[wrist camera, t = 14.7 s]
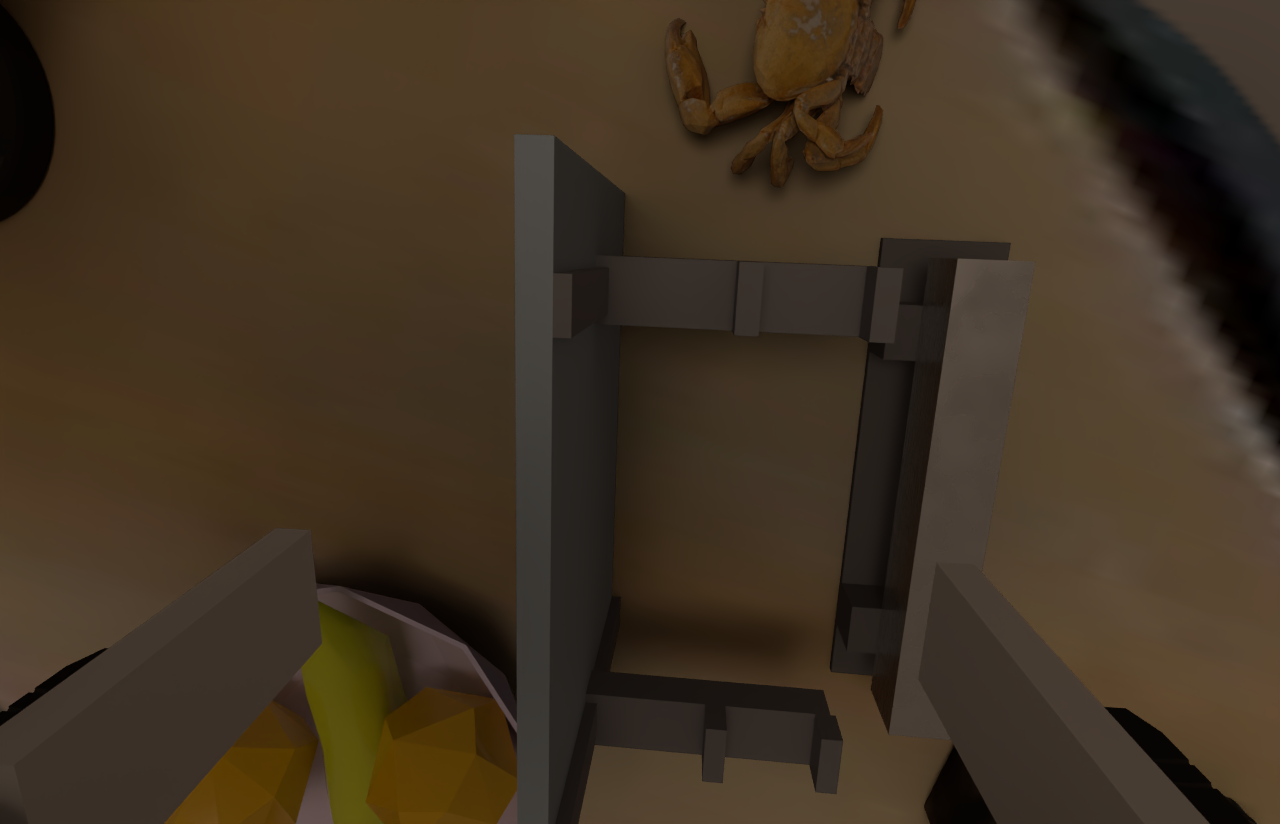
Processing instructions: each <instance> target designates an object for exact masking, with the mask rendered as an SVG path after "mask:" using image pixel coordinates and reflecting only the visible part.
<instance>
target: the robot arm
mask: <svg viewBox="0 0 1280 824" xmlns="http://www.w3.org/2000/svg"><path fill="white" fill-rule="evenodd" d="M51 143H52V111H51V103H50V98H49V93H48V89H47V85H46V81H45V78H44V75H43V72H42V69H41V67H40V64H39V62H38V60H37V57H36V55H35V53H34V51H33V49H32V47H31V45H30V44H29V42H28V40H27V39H26V37H25V35H24V34H23V32H22V31H21V29H20V28H19V26H18V25H17V24H16V22H15V21H14V20H13V19H12V17H11V16H10V15H9V14H8V13H7V12H6V10H5V9H4V8H3V7H2V6H1V5H0V220H2V219H5V218H6V217H8V216H10V215H11V214H13V213H14V212H15V211H17V210H18V209H19V208H20V207H21V206H22V205H23V204H24V203H25V202H26V201H27V200H28V199H29V198H30V197H31V195H32V194H33V193H34V191H35V190H36V188H37V186H38V185H39V183H40V181H41V179H42V177H43V174H44V172H45V169H46V166H47V163H48V159H49V155H50V150H51ZM321 644H322V636H321V627H320V617H319V607H318V597H317V587H316V577H315V568H314V558H313V548H312V538H311V530H303V529H284V528H275V529H274V530H272V531H271V532H270V533H268V534H267V535H265V536H264V537H263V538H261V539H260V540H259V541H257V542H256V543H254V544H253V545H252V546H250V547H249V548H247V549H246V550H245V551H243V552H242V553H240V554H239V555H238V556H236V557H235V558H234V559H232V560H231V561H229V562H228V563H227V564H225V565H224V566H222V567H221V568H220V569H218V570H217V571H215V572H214V573H213V574H211V575H210V576H208V577H207V578H206V579H204V580H203V581H202V582H200V583H199V584H197V585H196V586H195V587H193V588H192V589H190V590H189V591H188V592H186V593H185V594H183V595H182V596H181V597H179V598H178V599H177V600H175V601H174V602H172V603H171V604H170V605H168V606H167V607H165V608H164V609H163V610H161V611H160V612H158V613H157V614H156V615H154V616H153V617H152V618H150V619H149V620H147V621H146V622H145V623H143V624H142V625H140V626H139V627H138V628H136V629H135V630H133V631H132V632H131V633H129V634H128V635H126V636H125V637H124V638H122V639H121V640H120V641H118V642H117V643H115V644H114V645H113V646H111V647H110V648H104V649H102V650H100V651H98V652H96V653H94V654H91V655H89V656H87V657H85V658H83V659H81V660H79V661H76V662H74V663H72V664H70V665H68V666H66V667H65V668H63V669H62V670H60V671H59V672H57V673H56V674H55V675H53V676H52V677H50V678H49V679H47V680H46V681H44V682H43V683H42V684H40V685H39V686H37V687H36V688H35V691H34V692H33V693H27V694H26V695H24V696H23V697H22V698H20V699H19V700H17V701H16V702H14V703H13V704H12V705H10V706H9V709H8V710H7V711H2V712H0V824H164V823H165V822H166V821H167V819H168V818H169V817H170V816H171V815H172V814H173V813H174V811H175V810H176V809H177V808H178V807H179V806H180V805H181V804H182V802H183V801H184V800H185V799H186V798H187V797H188V796H189V794H190V793H191V792H192V791H193V790H194V789H195V788H196V786H197V785H198V784H199V783H200V782H201V781H202V780H203V779H204V777H205V776H206V775H207V774H208V773H209V772H210V771H211V769H212V768H213V767H214V766H215V765H216V764H217V763H218V761H219V760H220V759H221V758H222V757H223V756H224V755H225V753H226V752H227V751H228V750H229V749H230V748H231V747H232V746H233V744H234V743H235V742H236V741H237V740H238V739H239V738H240V736H241V735H242V734H243V733H244V732H245V731H246V730H247V728H248V727H249V726H250V725H251V724H252V723H253V722H254V721H255V719H256V718H257V717H258V716H259V715H260V714H261V713H262V711H263V710H264V709H265V708H266V707H267V706H268V705H269V703H270V702H271V701H272V700H273V699H274V698H275V697H276V696H277V694H278V693H279V692H280V691H281V690H282V689H283V688H284V686H285V685H286V684H287V683H288V682H289V681H290V680H291V678H292V677H293V676H294V675H295V674H296V673H297V672H298V670H299V669H300V668H301V667H302V666H303V665H304V664H305V663H306V661H307V660H308V659H309V658H310V657H311V656H312V655H313V653H314V652H315V651H316V650H317V649H318V648H319V647H320V645H321ZM918 680H919V681H920V683H921V685H922V687H923V689H924V691H925V693H926V694H927V696H928V698H929V700H930V702H931V704H932V705H933V707H934V709H935V711H936V713H937V715H938V716H939V718H940V720H941V722H942V724H943V726H944V727H945V729H946V731H947V733H948V735H949V737H950V739H951V740H952V742H953V744H954V746H955V748H956V750H957V751H958V753H959V755H960V757H961V759H962V761H963V762H964V764H965V766H966V768H967V770H968V772H969V773H970V775H971V777H972V779H973V781H974V783H975V785H976V786H977V788H978V790H979V792H980V794H981V796H982V797H983V799H984V801H985V803H986V805H987V807H988V808H989V810H990V812H991V814H992V816H993V818H994V819H995V821H996V823H997V824H1251V823H1250V822H1249V821H1248V820H1247V819H1246V818H1245V817H1244V816H1243V815H1242V814H1241V813H1240V812H1239V811H1238V810H1237V809H1236V808H1235V807H1234V806H1233V805H1232V804H1231V803H1230V802H1229V801H1228V800H1227V799H1226V797H1225V796H1224V795H1223V794H1222V793H1221V792H1220V791H1219V790H1218V789H1213V788H1212V786H1211V782H1210V781H1209V780H1208V779H1207V778H1206V777H1205V776H1204V775H1203V774H1202V773H1201V772H1200V771H1199V770H1198V769H1197V768H1196V767H1195V766H1194V765H1190V764H1189V760H1188V759H1187V758H1186V757H1185V756H1184V755H1183V754H1182V752H1181V751H1180V750H1179V749H1178V748H1177V747H1176V746H1175V745H1174V744H1173V743H1172V742H1171V741H1170V740H1169V739H1168V738H1167V737H1166V736H1165V735H1164V734H1163V733H1162V732H1161V731H1159V730H1157V729H1156V728H1154V727H1153V726H1151V725H1150V724H1148V723H1147V722H1145V721H1144V720H1142V719H1141V718H1139V717H1138V716H1136V715H1135V714H1133V713H1132V712H1130V711H1129V710H1127V709H1126V708H1112V707H1103V705H1102V704H1101V703H1100V702H1099V701H1098V700H1097V699H1096V698H1095V697H1094V695H1093V694H1092V693H1091V692H1090V691H1089V690H1088V689H1087V688H1086V687H1085V686H1084V684H1083V683H1082V682H1081V681H1080V680H1079V679H1078V678H1077V677H1076V676H1075V675H1074V673H1073V672H1072V671H1071V670H1070V669H1069V668H1068V667H1067V666H1066V665H1065V664H1064V662H1063V661H1062V660H1061V659H1060V658H1059V657H1058V656H1057V655H1056V654H1055V653H1054V651H1053V650H1052V649H1051V648H1050V647H1049V646H1048V645H1047V644H1046V643H1045V641H1044V640H1043V639H1042V638H1041V637H1040V636H1039V635H1038V634H1037V633H1036V632H1035V630H1034V629H1033V628H1032V627H1031V626H1030V625H1029V624H1028V623H1027V622H1026V621H1025V619H1024V618H1023V617H1022V616H1021V615H1020V614H1019V613H1018V612H1017V611H1016V610H1015V608H1014V607H1013V606H1012V605H1011V604H1010V603H1009V602H1008V601H1007V600H1006V598H1005V597H1004V596H1003V595H1002V594H1001V593H1000V592H999V591H998V590H997V589H996V587H995V586H994V585H993V584H992V583H991V582H990V581H989V580H988V579H987V578H986V576H985V575H984V574H983V573H982V572H981V571H980V570H979V569H978V568H977V567H976V565H975V564H959V563H940V562H936V567H935V574H934V580H933V587H932V593H931V600H930V606H929V613H928V619H927V626H926V632H925V639H924V645H923V652H922V658H921V665H920V671H919V678H918Z"/></svg>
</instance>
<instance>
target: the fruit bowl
mask: <svg viewBox="0 0 1280 824" xmlns="http://www.w3.org/2000/svg"><path fill="white" fill-rule="evenodd" d="M316 587H317V597H318V607H319V617H320V627H321V636H322V644H321V645H320V647H319V648H318V649H317V650H316V651H315V652H314V653H313V655H312V656H311V657H310V658H309V659H308V660H307V661H306V663H305V664H304V665H303V666H302V667H301V668H300V669H299V670H298V672H297V673H296V674H295V675H294V676H293V677H292V678H291V680H290V681H289V682H288V683H287V684H286V685H285V686H284V688H283V689H282V690H281V691H280V692H279V693H278V694H277V696H276V697H275V698H274V699H273V700H272V701H271V702H270V703H269V705H268V706H267V707H266V708H265V709H264V710H263V711H262V713H261V714H260V715H259V716H258V717H257V718H256V719H255V721H254V722H253V723H252V724H251V725H250V726H249V727H248V728H247V730H246V731H245V732H244V733H243V734H242V735H241V736H240V738H239V739H238V740H237V741H236V742H235V743H234V744H233V746H232V747H231V748H230V749H229V750H228V751H227V752H226V753H225V755H224V756H223V757H222V758H221V759H220V760H219V761H218V763H217V764H216V765H215V766H214V767H213V768H212V769H211V771H210V772H209V773H208V774H207V775H206V776H205V777H204V779H203V780H202V781H201V782H200V783H199V784H198V785H197V786H196V788H195V789H194V790H193V791H192V792H191V793H190V794H189V796H188V797H187V798H186V799H185V800H184V801H183V802H182V804H181V805H180V806H179V807H178V808H177V809H176V810H175V811H174V813H173V814H172V815H171V816H170V817H169V818H168V819H167V821H166V822H165V823H164V824H517V704H516V701H515V699H514V696H513V694H512V691H511V689H510V686H509V684H508V681H507V679H506V676H505V674H503V673H502V672H501V671H500V670H499V669H497V668H496V667H495V666H494V665H493V664H491V663H490V662H489V661H488V660H487V659H485V658H484V657H483V656H482V655H481V654H479V653H478V652H477V651H476V650H474V649H473V648H472V647H471V646H470V645H468V644H467V643H466V642H465V641H464V640H462V639H461V638H460V637H459V636H458V635H456V634H455V633H454V632H453V631H452V630H450V629H449V628H448V627H447V626H446V625H444V624H443V623H442V622H441V621H439V620H438V619H437V618H436V617H435V616H433V615H432V614H431V613H430V612H429V611H427V610H426V609H425V608H424V607H423V606H421V605H420V604H418V603H414V602H409V601H405V600H400V599H396V598H392V597H387V596H383V595H378V594H374V593H369V592H365V591H360V590H356V589H351V588H347V587H342V586H335V585H326V584H317V583H316Z"/></svg>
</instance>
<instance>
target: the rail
mask: <svg viewBox="0 0 1280 824" xmlns="http://www.w3.org/2000/svg"><path fill="white" fill-rule="evenodd" d="M1034 266H1035V262H1033V261H1008V260H982V259H956V258H929V264H928V272H927V279H926V287H925V294H924V301H923V309H922V316H921V323H920V331H919V338H918V345H917V353H916V360H915V368H914V375H913V382H912V390H911V397H910V404H909V412H908V419H907V426H906V434H905V441H904V449H903V456H902V463H901V471H900V478H899V485H898V493H897V500H896V508H895V515H894V522H893V530H892V537H891V544H890V552H889V559H888V566H887V574H886V581H885V589H884V596H883V603H882V611H881V618H880V625H879V633H878V640H877V647H876V655H875V662H874V670H873V677H872V684H871V691H872V694H873V696H874V699H875V701H876V704H877V706H878V709H879V712H880V714H881V717H882V719H883V722H884V724H885V727H886V729H887V732H888V734H889V735H899V736H910V737H921V738H933V739H944V740H951V739H950V737H949V735H948V733H947V731H946V729H945V727H944V726H943V724H942V722H941V720H940V718H939V716H938V715H937V713H936V711H935V709H934V707H933V705H932V704H931V702H930V700H929V698H928V696H927V694H926V693H925V691H924V689H923V687H922V685H921V683H920V681H919V680H918V678H919V671H920V665H921V658H922V652H923V645H924V639H925V632H926V626H927V619H928V613H929V606H930V600H931V593H932V587H933V580H934V574H935V567H936V562H940V563H959V564H975V565H976V567H977V568H978V569H979V570H980V571H981V572H982V569H983V563H984V557H985V551H986V546H987V540H988V534H989V528H990V522H991V516H992V511H993V505H994V499H995V493H996V487H997V482H998V476H999V470H1000V464H1001V458H1002V452H1003V447H1004V441H1005V435H1006V429H1007V423H1008V418H1009V412H1010V406H1011V400H1012V394H1013V388H1014V383H1015V377H1016V371H1017V365H1018V359H1019V354H1020V348H1021V342H1022V336H1023V330H1024V325H1025V319H1026V313H1027V307H1028V301H1029V295H1030V290H1031V284H1032V278H1033V272H1034Z"/></svg>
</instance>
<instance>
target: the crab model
mask: <svg viewBox="0 0 1280 824" xmlns="http://www.w3.org/2000/svg"><path fill="white" fill-rule="evenodd" d="M763 1H764V2H765V3H766V7H765V8H762V9H758V10H759V11H760V12H761V13H762V17H761V18H759V19H758V21H757V23H756V28H757V33H756V39H755V43H754V48H753V66H754V72H755V76H756V79H757V83H742V84H737V85H734V86H731V87H728V88H725V89H723V90H721V91H720V92H718V93H717V97H716V99H715V100H714V101H713V102H712V104H711V105H710V92H709V85H708V80H707V74H706V71H705V68H704V65H703V63H702V60H701V57H700V54H699V52H698V50H697V40H696V38H695V36H694V34H693V33H692V31H691V30H690V31H688V32H687V33H685V34H684V33H683V34H682V38H681V36H680V29H681V26H683V25H684V24H685V23H686V22H685V21H683V20H682V19H680V18H677V19H675V20H674V21H672V22H671V23H670V24H669V26H668V28H667V34H666V43H665V56H666V69H667V73H668V77H669V81H670V85H671V88H672V91H673V94H674V97H675V100H676V103H677V105H678V107H679V111H680V116H681V119H682V122H683V125H684V126H685V127H686V128H687V129H688V130H689V131H692V132H696V133H699V134H709V132H710V131H711V130H712V128H714V127H717V126H721V125H724V124H727V123H730V122H733V121H736V120H738V119H741V118H744V117H747V116H749V115H751V114H753V113H755V112H757V111H759V110H761V109H763V108H765V107H767V106H768V105H769V104H770V103H771V102H773V100H777V101H789V102H788V103H787V104H786V106H785V109H784V112H783V113H782V114H781V115H780V116H779V117H778V118H777V119H776V120H774V121H773V122H771V123H770V124H768V125H767V126H765V127H764V128H762V129H761V130H760V132H759V134H758V136H757V137H755V138H754V139H752V140H751V141H749V142H747V144H746V145H745V147H744V148H743V150H742V151H741V152H740V153H739V154H738V155H737V156H736V157H735V159H734V160H733V161H732V166H731V170H732V172H733V174H742V173H743V172H744V171H745V170H746V169H747V168H749V167H750V166H751V164H752V163H753V161H754V159H755V157H756V155H757V154H759V153H760V152H761V151H762V150H763V149H764V148H765V146H766V144H767V143H769V142H771V141H773V145H772V151H771V158H770V167H771V168H772V169H771V184H772V185H773V186H775V187H779V188H781V187H782V186H783V185H784V184H785V182H786V180H787V178H788V176H789V174H790V172H791V170H792V168H793V162H794V159H793V158H791V157H789V158H788V150H789V149H788V148H787V146H786V144H785V141H787V140H788V139H790V138H791V137H793V136H794V135H795V134H797V133H798V132H799V131H801V132H802V133H804V134H805V135H806V136H807V137H808V140H807V142H806V145H805V149H804V150H803V154H804V157H805V160H806V163H807V164H809V165H810V166H811V167H813V168H814V169H815V170H818V171H834V170H839V168H841V167H846V166H851V165H855V164H858V163H859V162H861V161H862V160H864V159H865V158H866V156H867V153H868V152H869V151H870V150H871V148H872V146H873V144H874V141H875V139H876V136H877V134H878V131H879V128H880V126H881V123H882V115H883V110H882V108H881V107H880V106H879V105H876V109H875V112H874V115H873V118H872V119H871V121H870V123H869V125H868V127H867V128H866V130H865V132H864V135H859V136H857V137H855V138H853V139H851V140H848V141H844V140H843V139H842V138H841V136H840V134H839V133H838V131H837V130H836V128H837V126H838V123H839V119H840V109H841V107H842V104H843V100H842V93H843V92H844V91H845V88H846V84H847V81H849V80H851V79H852V80H851V83H850V85H852V84H853V85H854V86H855V90H856V91H857V93H858V94H859V92H860V91H861V94H862V93H863V92H864V96H865V94H866V91H867V92H868V91H869V90H870V87H871V85H872V82H873V79H874V77H875V74H876V72H877V69H878V66H879V62H880V59H881V55H882V47H883V36H882V35H881V34H880V33H878V32H877V30H876V29H874V26H875V25H874V23H873V21H871V22H870V21H869V17H870V7H871V3H872V0H763ZM915 2H916V0H903V3H902V6H901V9H900V12H901V14H900V17H899V20H898V25H897V28H904V27H905V25H906V24H907V23H908V21H909V20H910V18H911V15H912V12H913V9H914V6H915ZM820 107H822V110H823V113H822V114H821V115H820V116H819V117H818V118H817V120H815V119H814V118H813V116H814V115H815V114H817V113H818V112H819V109H820Z"/></svg>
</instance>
